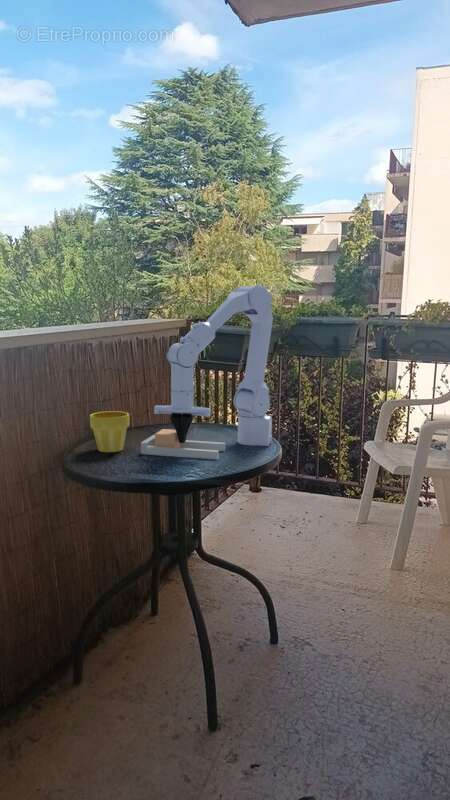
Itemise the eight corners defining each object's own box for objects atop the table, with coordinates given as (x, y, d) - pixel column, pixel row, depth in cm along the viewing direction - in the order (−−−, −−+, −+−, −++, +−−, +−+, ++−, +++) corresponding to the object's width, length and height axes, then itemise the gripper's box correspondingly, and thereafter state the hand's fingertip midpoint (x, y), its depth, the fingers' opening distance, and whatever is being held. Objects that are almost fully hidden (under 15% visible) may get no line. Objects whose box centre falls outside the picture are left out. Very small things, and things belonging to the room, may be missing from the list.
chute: (227, 451, 143) (227, 437, 143) (215, 466, 130) (215, 450, 129) (156, 446, 147) (156, 432, 147) (137, 460, 134) (137, 444, 133)
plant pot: (88, 446, 147) (87, 411, 145) (125, 443, 151) (125, 409, 149) (93, 456, 137) (92, 418, 136) (133, 452, 141) (132, 416, 139)
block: (180, 448, 142) (180, 430, 141) (173, 454, 136) (173, 435, 135) (162, 447, 143) (162, 428, 142) (155, 452, 137) (155, 433, 136)
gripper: (149, 391, 134) (150, 444, 136) (206, 393, 131) (205, 447, 133) (159, 387, 140) (159, 437, 143) (212, 389, 137) (212, 441, 140)
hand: (182, 442), depth 138 cm, fingers closed
